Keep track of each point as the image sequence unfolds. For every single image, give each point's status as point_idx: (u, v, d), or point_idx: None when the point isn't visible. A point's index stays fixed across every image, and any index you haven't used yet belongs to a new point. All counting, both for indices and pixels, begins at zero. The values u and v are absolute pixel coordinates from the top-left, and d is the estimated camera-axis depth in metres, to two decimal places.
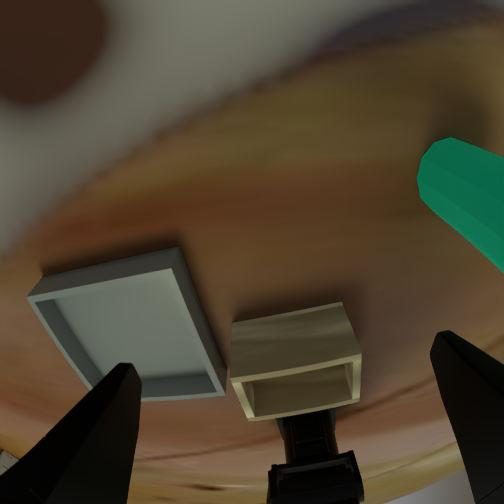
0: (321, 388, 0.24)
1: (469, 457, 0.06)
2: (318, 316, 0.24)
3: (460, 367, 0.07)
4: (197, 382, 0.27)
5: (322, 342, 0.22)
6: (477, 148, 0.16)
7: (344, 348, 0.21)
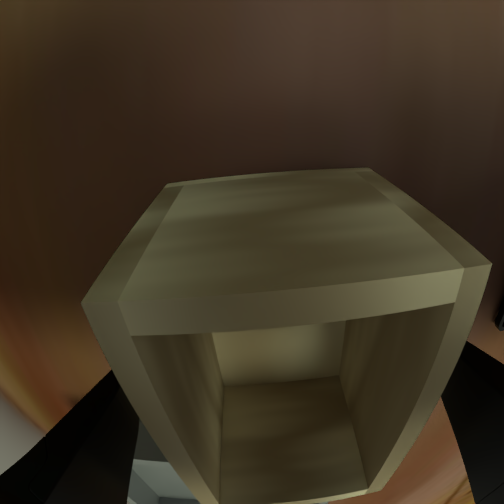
0: (392, 335, 0.07)
1: (469, 457, 0.06)
2: None
3: (460, 367, 0.07)
4: None
5: None
6: None
7: None
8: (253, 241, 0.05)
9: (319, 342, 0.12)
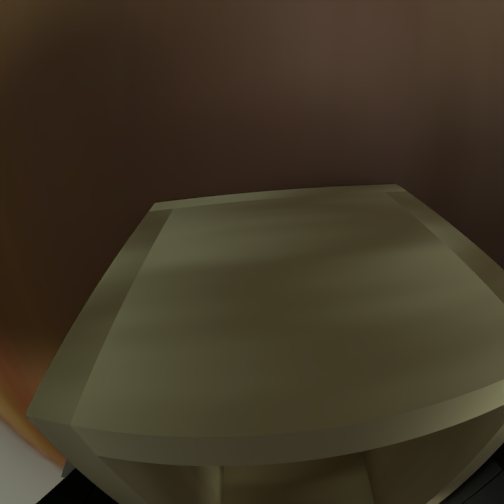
0: None
1: None
2: None
3: None
4: None
5: None
6: None
7: None
8: (266, 319, 0.03)
9: None
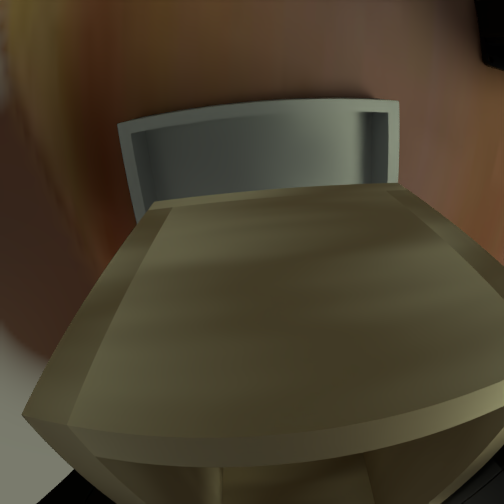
0: None
1: None
2: None
3: None
4: (378, 145, 0.15)
5: None
6: None
7: None
8: (266, 318, 0.03)
9: None
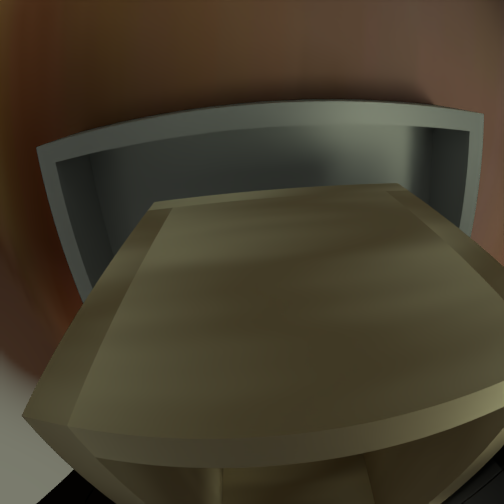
0: None
1: None
2: None
3: None
4: (443, 178, 0.09)
5: None
6: None
7: None
8: (266, 319, 0.03)
9: None
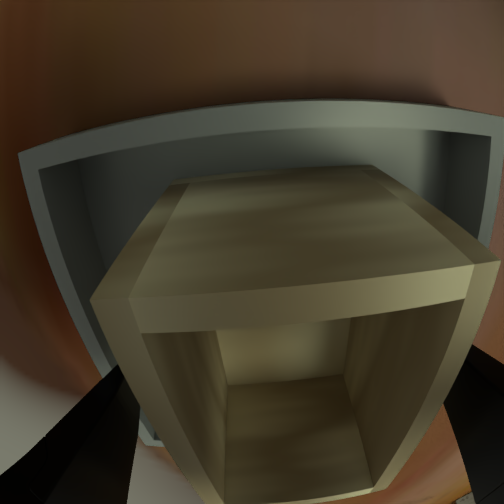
0: (400, 332, 0.07)
1: (470, 457, 0.06)
2: None
3: None
4: (460, 185, 0.09)
5: None
6: None
7: None
8: (264, 237, 0.05)
9: (323, 341, 0.12)
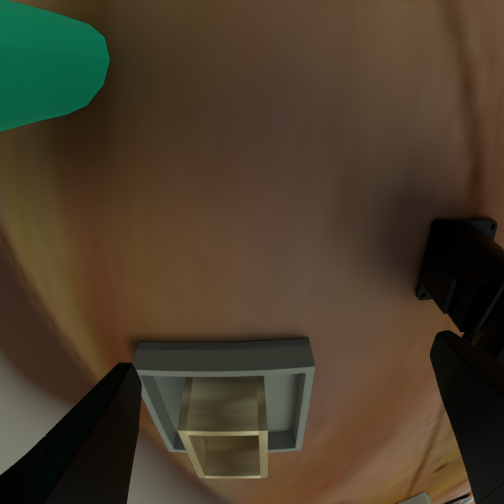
0: None
1: (470, 457, 0.06)
2: None
3: (460, 367, 0.07)
4: (301, 375, 0.24)
5: None
6: None
7: None
8: (214, 414, 0.20)
9: None
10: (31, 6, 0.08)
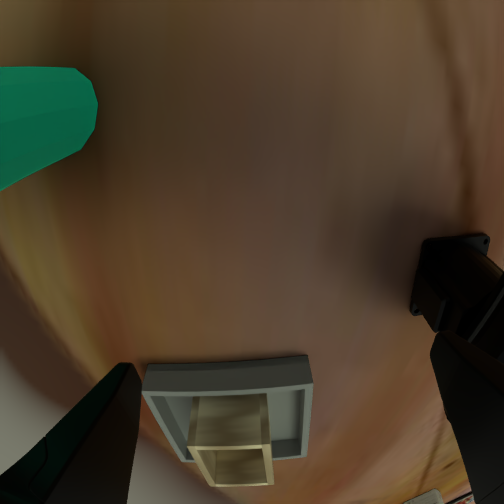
0: None
1: (470, 457, 0.06)
2: None
3: (460, 367, 0.07)
4: (302, 390, 0.24)
5: None
6: None
7: None
8: (220, 430, 0.21)
9: None
10: (12, 67, 0.09)
